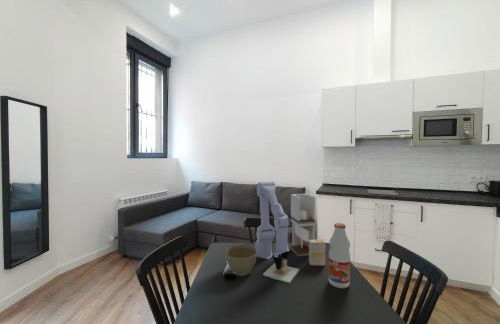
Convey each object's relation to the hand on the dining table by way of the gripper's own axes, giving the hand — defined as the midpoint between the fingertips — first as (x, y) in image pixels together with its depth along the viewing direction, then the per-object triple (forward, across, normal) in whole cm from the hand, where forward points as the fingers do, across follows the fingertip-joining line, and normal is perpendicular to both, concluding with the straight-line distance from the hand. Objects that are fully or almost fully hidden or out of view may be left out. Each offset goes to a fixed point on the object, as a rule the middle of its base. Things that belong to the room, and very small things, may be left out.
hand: (281, 265), depth 121 cm
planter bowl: (+4, -9, +18) cm, 21 cm away
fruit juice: (+4, +5, -27) cm, 28 cm away
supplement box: (+4, +19, -13) cm, 23 cm away
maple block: (+3, 0, 0) cm, 3 cm away
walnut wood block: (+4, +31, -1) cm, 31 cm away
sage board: (+4, 0, 0) cm, 4 cm away
